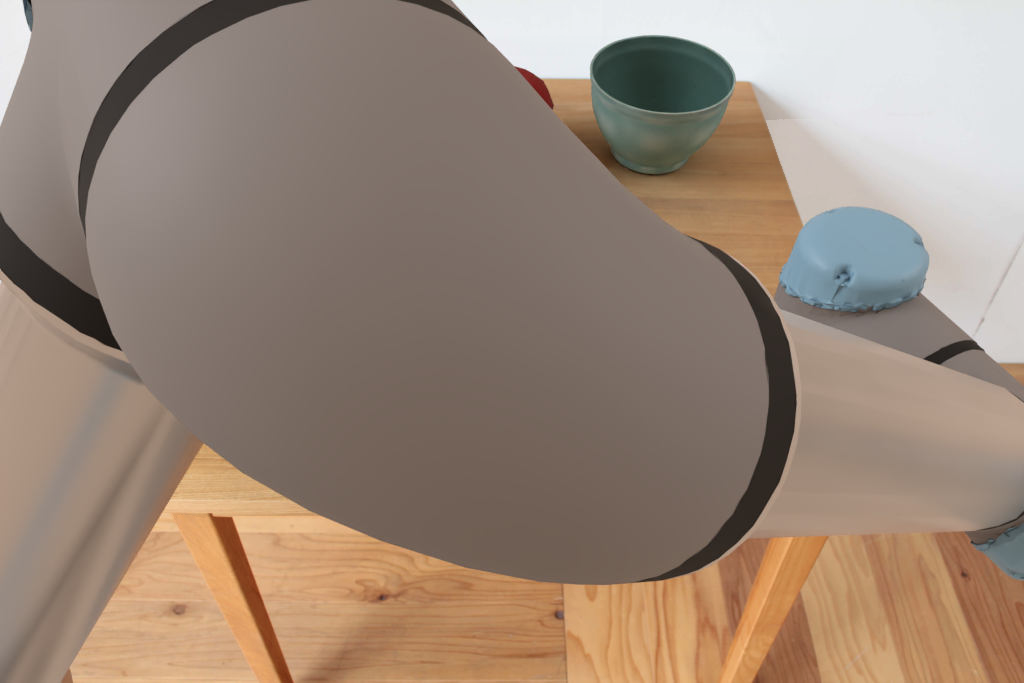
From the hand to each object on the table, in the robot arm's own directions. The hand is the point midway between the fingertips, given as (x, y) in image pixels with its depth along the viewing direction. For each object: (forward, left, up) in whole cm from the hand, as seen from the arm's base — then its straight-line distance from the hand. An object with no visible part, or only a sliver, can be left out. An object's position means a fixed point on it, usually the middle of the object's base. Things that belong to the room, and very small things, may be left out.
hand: (409, 252), depth 71 cm
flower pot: (+41, +4, -14) cm, 44 cm away
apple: (+28, +16, -14) cm, 36 cm away
